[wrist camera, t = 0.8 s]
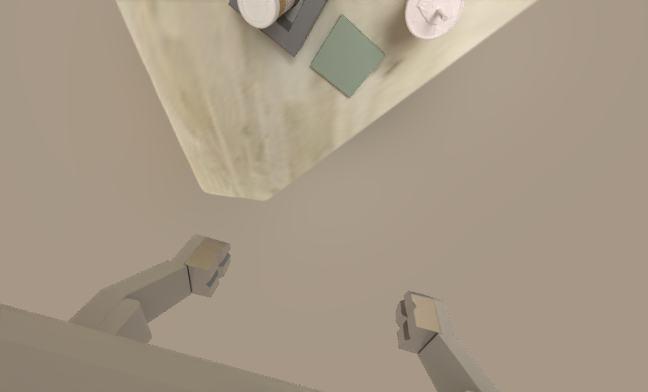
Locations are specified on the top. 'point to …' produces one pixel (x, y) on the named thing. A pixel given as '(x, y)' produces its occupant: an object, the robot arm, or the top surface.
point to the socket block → (292, 25)
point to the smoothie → (431, 17)
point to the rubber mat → (347, 57)
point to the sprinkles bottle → (263, 11)
